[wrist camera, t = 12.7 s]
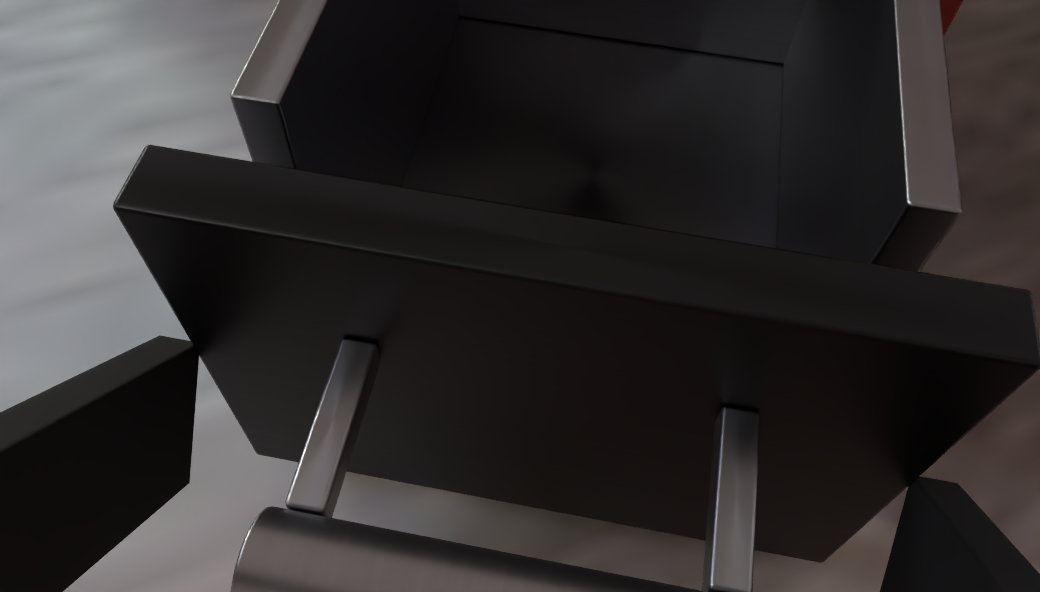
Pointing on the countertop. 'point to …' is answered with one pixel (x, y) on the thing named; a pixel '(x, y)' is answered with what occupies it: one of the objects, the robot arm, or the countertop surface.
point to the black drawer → (583, 276)
